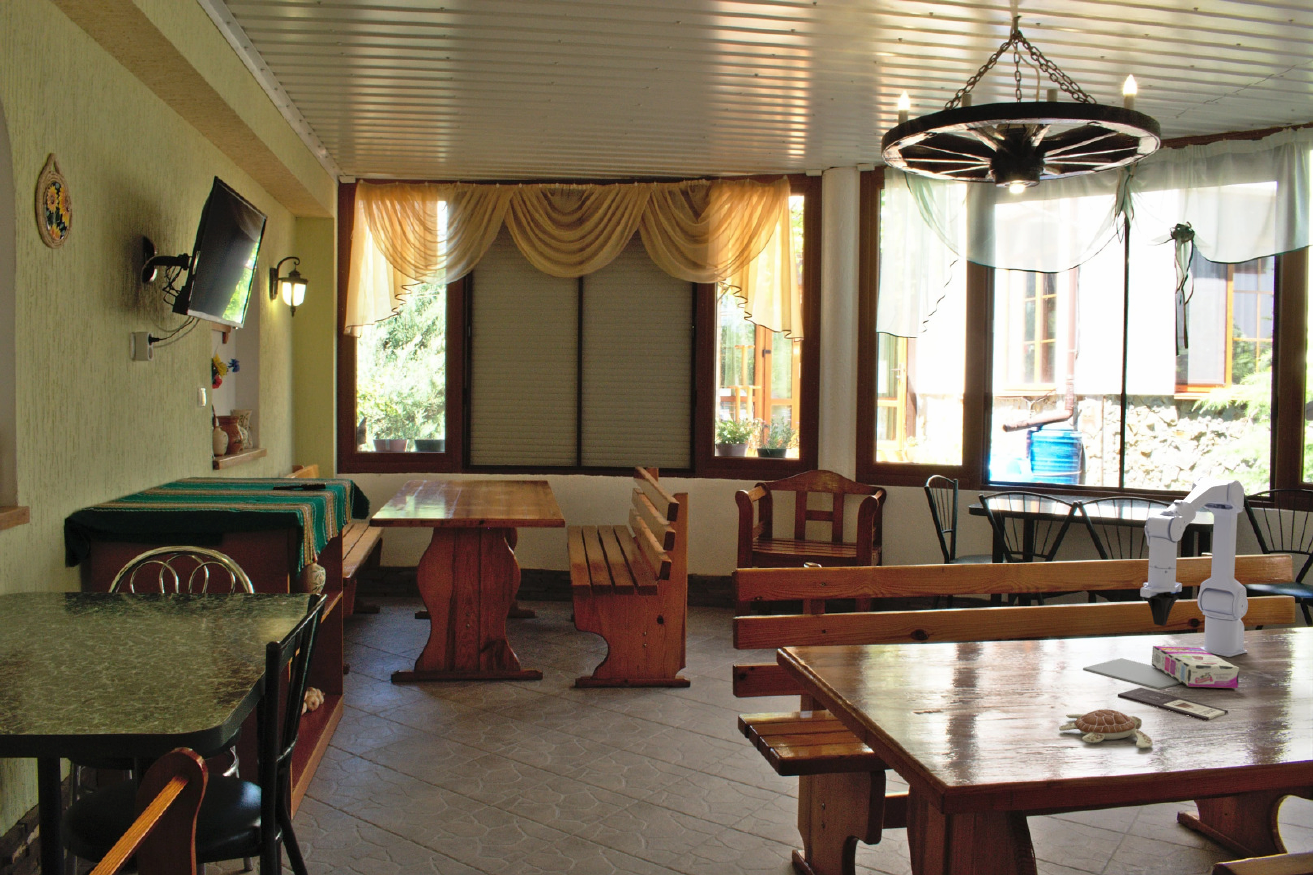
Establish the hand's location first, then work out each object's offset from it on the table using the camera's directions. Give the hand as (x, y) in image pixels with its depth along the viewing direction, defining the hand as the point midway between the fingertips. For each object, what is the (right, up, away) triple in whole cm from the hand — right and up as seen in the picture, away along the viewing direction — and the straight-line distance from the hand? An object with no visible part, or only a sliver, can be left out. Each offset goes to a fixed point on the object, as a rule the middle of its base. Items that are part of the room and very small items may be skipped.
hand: (1160, 624), depth 227 cm
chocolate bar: (-11, -12, -26) cm, 31 cm away
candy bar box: (+4, -8, +1) cm, 9 cm away
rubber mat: (-7, -11, -4) cm, 13 cm away
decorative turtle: (-33, -13, -45) cm, 57 cm away
